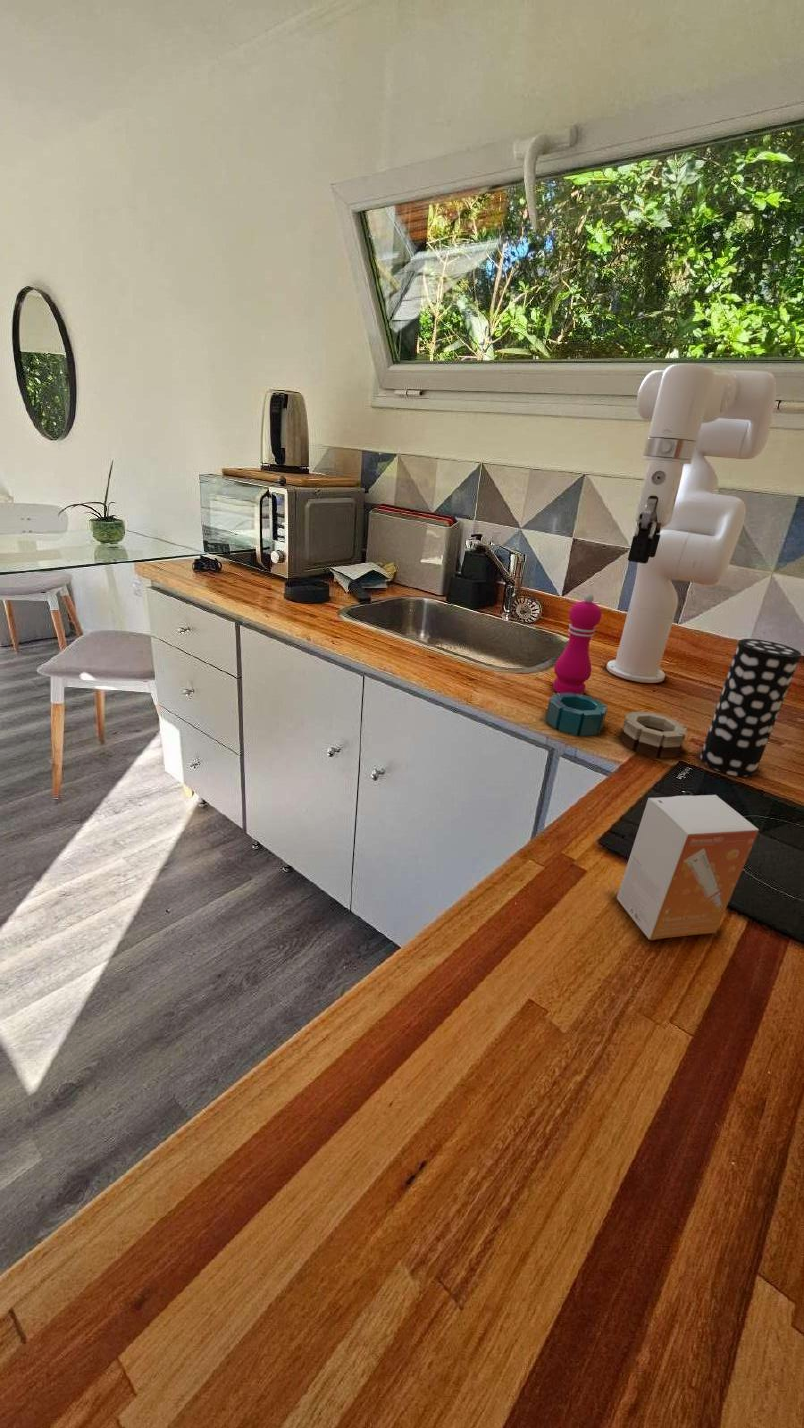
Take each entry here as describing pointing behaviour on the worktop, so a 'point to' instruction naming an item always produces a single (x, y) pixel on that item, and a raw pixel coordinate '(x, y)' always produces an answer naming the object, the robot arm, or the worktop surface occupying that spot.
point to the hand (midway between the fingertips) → (641, 558)
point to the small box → (685, 865)
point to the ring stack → (653, 734)
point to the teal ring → (576, 714)
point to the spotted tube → (749, 706)
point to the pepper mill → (577, 648)
